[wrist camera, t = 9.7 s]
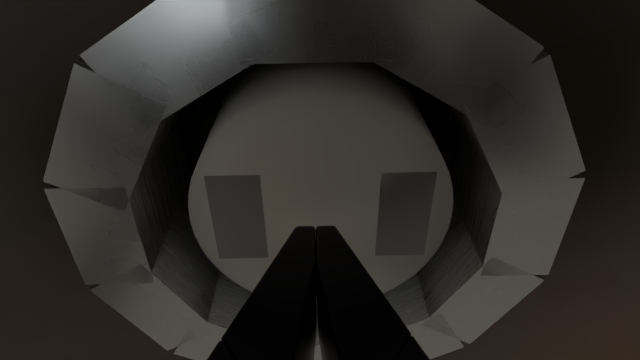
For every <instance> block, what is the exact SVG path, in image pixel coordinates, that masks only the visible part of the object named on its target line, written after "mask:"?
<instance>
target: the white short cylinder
mask: <svg viewBox="0 0 640 360" xmlns="http://www.w3.org/2000/svg"><path fill="white" fill-rule="evenodd" d="M188 210H189V217H190V222H191V225H192V229H193V232H194V235H195V237H196V239H197V241H198V243H199V245H200V247H201V248H202V250H203V251H204V253H205V254H206V256H207V257H208V258H209V259H210V261H211V262H212V263H213V264H214V265H215V266H216V267H217V268H218V269H219V270H220V271H221V272H222V273H223V274H225V275H226V276H227V277H228V278H230V279H231V280H233V281H234V282H235V283H237V284H238V285H240V286H242V287H244V288H246V289H247V290H249V291H251V292H252V291H253V290H254V288H255V287H256V285H257V284H258V282H259V281H260V279H261V278H262V276H263V275H264V273H265V272H266V270H267V269H268V267H269V266H270V264H271V263H272V261H273V260H274V258H275V257H276V255H277V254H278V252H279V251H280V249H281V248H282V246H283V245H284V243H285V242H286V240H287V239H288V237H289V236H290V234H291V233H292V231H293V230H294V228H295V227H297V226H314V227H315V234H316V227H317V226H328V225H333V226H335V227H336V228H337V229H338V231H339V232H340V233H341V235H342V236H343V238H344V239H345V240H346V242H347V243H348V245H349V246H350V248H351V249H352V250H353V252H354V253H355V255H356V256H357V257H358V259H359V260H360V262H361V263H362V265H363V266H364V267H365V269H366V270H367V272H368V273H369V274H370V276H371V277H372V279H373V280H374V282H375V283H376V284H377V286H378V287H379V289H380V290H381V291H382V293H385V292H387V291H389V290H391V289H393V288H395V287H397V286H398V285H400V284H402V283H403V282H405V281H406V280H408V279H409V278H410V277H412V276H413V275H414V274H416V273H417V272H418V271H419V270H420V269H421V268H422V267H423V266H424V265H425V264H426V263H427V262H428V261H429V260H430V259H431V257H432V256H433V255H434V254H435V253H436V251H437V249H438V248H439V246H440V245H441V243H442V241H443V239H444V237H445V235H446V233H447V230H448V228H449V224H450V221H451V217H452V210H453V187H452V182H451V178H450V173H449V171H448V169H447V166H446V164H445V161H444V159H443V157H442V155H441V153H440V151H439V149H438V147H437V145H436V142H435V140H434V138H433V136H432V134H431V132H430V130H429V128H428V126H427V124H426V122H425V120H424V118H423V116H422V114H421V112H420V110H419V108H418V106H417V104H416V102H415V100H414V97H413V96H412V94H411V92H410V91H409V89H408V87H407V86H406V84H405V83H404V82H403V81H402V79H401V78H400V77H399V76H397V75H396V74H394V73H392V72H390V71H388V70H387V69H385V68H383V67H381V66H380V65H378V64H376V63H374V62H341V63H284V64H253V65H251V66H250V67H249V68H248V69H246V70H245V71H244V72H243V73H242V74H241V75H240V76H239V77H238V78H237V80H236V81H235V82H234V83H233V85H232V86H231V87H230V89H229V91H228V92H227V94H226V96H225V98H224V100H223V102H222V104H221V107H220V109H219V112H218V114H217V116H216V119H215V121H214V124H213V126H212V128H211V131H210V133H209V136H208V138H207V141H206V143H205V145H204V148H203V150H202V153H201V155H200V157H199V160H198V162H197V165H196V167H195V170H194V173H193V175H192V178H191V182H190V187H189V192H188Z"/></svg>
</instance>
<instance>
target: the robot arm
mask: <svg viewBox="0 0 640 360" xmlns="http://www.w3.org/2000/svg"><path fill="white" fill-rule="evenodd" d="M317 322H318V335H319V343H320V349H321V356H322V360H430V359H429V357H428V356H427V355H426V353H425V352H424V351H423V349H422V348H421V346H420V345H419V344H418V342H417V341H416V339H415V338H414V337H413V336H411V333H410V331H409V330H408V328H407V327H406V325H405V324H404V323H403V321H402V320H401V318H400V317H399V316H398V314H397V313H396V311H395V310H394V308H393V307H392V306H391V304H390V303H389V301H388V300H387V299H386V297H385V296H384V294H383V293H382V291H381V290H380V289H379V287H378V286H377V284H376V283H375V282H374V280H373V279H372V277H371V276H370V274H369V273H368V272H367V270H366V269H365V267H364V266H363V265H362V263H361V262H360V260H359V259H358V257H357V256H356V255H355V253H354V252H353V250H352V249H351V248H350V246H349V245H348V243H347V242H346V240H345V239H344V238H343V236H342V235H341V233H340V232H339V231H338V229H337V228H336V227H335V226H333V225H328V226H317V227H316V234H315V227H314V226H297V227H295V228H294V230H293V231H292V233H291V234H290V236H289V237H288V239H287V240H286V242H285V243H284V245H283V246H282V248H281V249H280V251H279V252H278V254H277V255H276V257H275V258H274V260H273V261H272V263H271V264H270V266H269V267H268V269H267V270H266V272H265V273H264V275H263V276H262V278H261V279H260V281H259V282H258V284H257V285H256V287H255V288H254V290H253V291H252V293H251V294H250V296H249V297H248V299H247V300H246V302H245V303H244V305H243V306H242V308H241V309H240V311H239V312H238V314H237V315H236V317H235V318H234V320H233V321H232V323H231V324H230V326H229V327H228V329H227V330H226V332H225V333H224V335H223V336H222V338H221V340H222V341H219V342H218V343H217V345H216V346H215V348H214V349H213V351H212V352H211V354H210V355H209V357H208V358H207V360H314V354H315V345H316V334H317Z"/></svg>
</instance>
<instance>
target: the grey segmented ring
mask: <svg viewBox="0 0 640 360" xmlns="http://www.w3.org/2000/svg"><path fill="white" fill-rule="evenodd" d="M543 48H544V46H542V45H541V44H539V43H538V42H536V41H535V40H533V39H532V38H530V37H529V36H527V35H526V34H525V33H523V32H522V31H520V30H519V29H517V28H516V27H514V26H513V25H511V24H510V23H508V22H507V21H505V20H504V19H502V18H501V17H499V16H498V15H496V14H495V13H493V12H492V11H491V10H489V9H488V8H486V7H485V6H483V5H482V4H480V3H479V2H477V1H476V0H156V1H154V2H153V3H151V4H150V5H149V6H147V7H146V8H144V9H143V10H142V11H140V12H139V13H138V14H136V15H135V16H133V17H132V18H131V19H129V20H128V21H126V22H125V23H124V24H122V25H121V26H119V27H118V28H117V29H115V30H114V31H112V32H111V33H110V34H108V35H107V36H105V37H104V38H103V39H101V40H100V41H98V42H97V43H96V44H94V45H93V46H91V47H90V48H89V49H87V50H86V51H84V52H83V53H82V54H80V56H81V57H82V58H80V59H79V60H77V61H76V62H75V63H74V65H73V68H72V72H71V76H70V80H69V84H68V87H67V91H66V95H65V99H64V103H63V107H62V110H61V114H60V118H59V122H58V126H57V129H56V133H55V137H54V141H53V145H52V148H51V152H50V156H49V160H48V164H47V167H46V171H45V175H44V179H43V181H44V182H46V183H48V185H47V186H46V187H45V188H44V191H45V193H46V195H47V198H48V200H49V202H50V204H51V207H52V209H53V211H54V214H55V216H56V218H57V221H58V223H59V225H60V228H61V230H62V232H63V234H64V237H65V239H66V241H67V244H68V246H69V248H70V251H71V253H72V255H73V258H74V260H75V262H76V264H77V267H78V269H79V271H80V274H81V276H82V278H83V281H84V283H85V285H89V284H93V285H92V287H91V288H90V291H92V292H93V293H94V294H95V295H97V296H98V297H99V298H101V299H102V300H103V301H104V302H106V303H107V304H108V305H110V306H111V307H112V308H113V309H115V310H116V311H117V312H119V313H120V314H121V315H122V316H124V317H125V318H126V319H128V320H129V321H130V322H131V323H133V324H134V325H135V326H137V327H138V328H139V329H140V330H142V331H143V332H144V333H145V334H147V335H148V336H149V337H151V338H152V339H153V340H154V341H156V342H157V343H158V344H160V345H161V346H162V347H163V348H165V349H166V350H167V351H168V350H170V349H173V348H175V351H174V354H176V355H180V356H183V357H186V358H190V359H193V360H207V358H208V357H209V355H210V354H211V352H212V351H213V349H214V348H215V346H216V345H217V343H218V342H219V341H222V340H221V338H222V336H223V335H224V333H225V332H226V330H227V329H228V327H229V326H230V324H231V323H232V321H233V320H234V318H235V317H236V315H237V314H238V312H239V311H240V309H241V308H242V306H243V305H244V303H245V302H246V300H247V299H248V297H249V296H250V294H251V293H252V292H251V291H249V290H247V289H246V288H244V287H242V286H240V285H238V284H237V283H235V282H234V281H233V280H231V279H230V278H228V277H227V276H226V275H225V274H223V273H222V272H221V271H220V270H219V269H218V268H217V267H216V266H215V265H214V264H213V263H212V262H211V261H210V259H209V258H208V257H207V256H206V254H205V253H204V251H203V250H202V248H201V247H200V245H199V243H198V241H197V239H196V237H195V235H194V232H193V229H192V225H191V222H190V217H189V210H188V192H189V187H190V182H191V175H190V170H189V166H188V161H187V156H186V151H185V146H184V141H183V137H182V132H181V127H180V122H179V117H178V116H179V113H180V111H181V108H182V107H184V106H186V105H187V104H189V103H190V102H192V101H194V100H195V99H197V98H199V97H200V96H202V95H203V94H205V93H207V92H208V91H210V90H211V89H213V88H215V87H216V86H218V85H220V84H221V83H223V82H224V81H226V80H228V79H229V78H231V77H233V76H234V75H236V74H237V73H239V72H241V71H242V70H244V69H246V68H247V67H249V66H250V65H252V64H284V63H341V62H374V63H376V64H378V65H380V66H381V67H383V68H385V69H387V70H388V71H390V72H392V73H394V74H396V75H397V76H399V77H401V78H403V79H404V80H406V81H408V82H410V83H411V84H413V85H415V86H417V87H418V88H420V89H422V90H424V91H425V92H427V93H429V94H431V95H433V96H434V97H436V98H438V99H440V100H441V101H443V102H445V103H447V105H448V107H449V109H450V117H449V123H448V129H447V135H446V141H445V147H444V153H443V159H444V161H445V164H446V166H447V169H448V171H449V173H450V178H451V182H452V187H453V210H452V217H451V221H450V224H449V228H448V230H447V233H446V235H445V237H444V239H443V241H442V243H441V245H440V246H439V248H438V249H437V251H436V253H435V254H434V255H433V256H432V257H431V259H430V260H429V261H428V262H427V263H426V264H425V265H424V266H423V267H422V268H421V269H420V270H419V271H418V272H417V273H416V274H414V275H413V276H412V277H410V278H409V279H408V280H406V281H405V282H403V283H402V284H400V285H398V286H397V287H395V288H393V289H391V290H389V291H387V292H385V293H383V294H384V296H385V297H386V299H387V300H388V301H389V303H390V304H391V306H392V307H393V308H394V310H395V311H396V313H397V314H398V316H399V317H400V318H401V320H402V321H403V323H404V324H405V325H406V327H407V328H408V330H409V331H410V333H411V336H413V337H414V338H415V339H416V341H417V342H418V344H419V345H420V346H421V348H422V349H423V351H424V352H425V353H426V355H427V356H428V357H429V359H432V358H435V357H438V356H440V355H443V354H446V353H449V352H452V351H455V350H458V349H460V348H463V347H464V345H463V342H462V341H464V342H466V343H469V344H471V343H472V342H473V341H474V340H475V339H476V338H478V337H479V336H480V335H481V334H482V333H483V332H485V331H486V330H487V329H488V328H489V327H490V326H492V325H493V324H494V323H495V322H496V321H497V320H499V319H500V318H501V317H502V316H503V315H504V314H506V313H507V312H508V311H509V310H510V309H511V308H513V307H514V306H515V305H516V304H517V303H518V302H520V301H521V300H522V299H523V298H524V297H525V296H527V295H528V294H529V293H530V292H531V291H532V290H534V289H535V288H536V287H537V286H538V285H539V284H541V283H542V282H543V281H544V279H543V277H542V276H541V275H549V272H550V269H551V267H552V264H553V261H554V259H555V256H556V254H557V251H558V248H559V246H560V243H561V240H562V238H563V235H564V233H565V230H566V227H567V225H568V222H569V219H570V217H571V214H572V212H573V209H574V206H575V204H576V201H577V198H578V196H579V193H580V191H581V188H582V185H583V183H584V180H585V177H584V176H583V175H582V174H581V172H584V171H586V170H585V167H584V163H583V160H582V157H581V154H580V150H579V147H578V144H577V141H576V137H575V134H574V131H573V127H572V124H571V121H570V118H569V114H568V111H567V108H566V105H565V101H564V98H563V95H562V91H561V88H560V85H559V82H558V78H557V75H556V72H555V69H554V65H553V62H552V59H551V55H550V54H548V53H547V52H546V51H544V50H543ZM314 360H322V356H321V349H320V343H319V335H318V322H317V334H316V345H315V354H314Z"/></svg>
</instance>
